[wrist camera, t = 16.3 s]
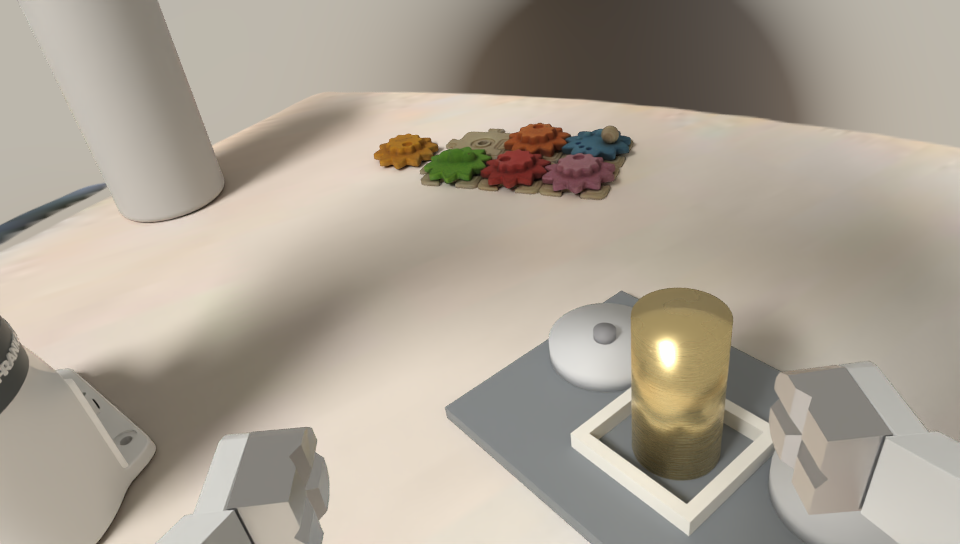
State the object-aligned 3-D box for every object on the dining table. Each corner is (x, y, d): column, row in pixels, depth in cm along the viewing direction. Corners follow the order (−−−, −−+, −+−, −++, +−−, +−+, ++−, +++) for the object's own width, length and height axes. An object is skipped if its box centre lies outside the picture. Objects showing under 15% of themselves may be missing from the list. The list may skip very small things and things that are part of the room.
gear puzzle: (351, 184, 82) (343, 153, 80) (413, 130, 94) (408, 102, 92) (606, 206, 70) (605, 170, 68) (640, 141, 82) (640, 109, 79)
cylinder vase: (244, 191, 83) (165, -28, 69) (144, 236, 76) (35, 4, 62) (200, 167, 91) (122, -33, 77) (107, 206, 84) (3, -5, 71)
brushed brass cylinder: (621, 466, 41) (618, 336, 35) (643, 407, 45) (644, 281, 39) (711, 490, 39) (723, 356, 33) (727, 426, 42) (740, 296, 37)
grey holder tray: (447, 417, 47) (439, 383, 46) (621, 300, 56) (621, 268, 54) (801, 727, 30) (811, 692, 28) (979, 486, 38) (996, 447, 36)
